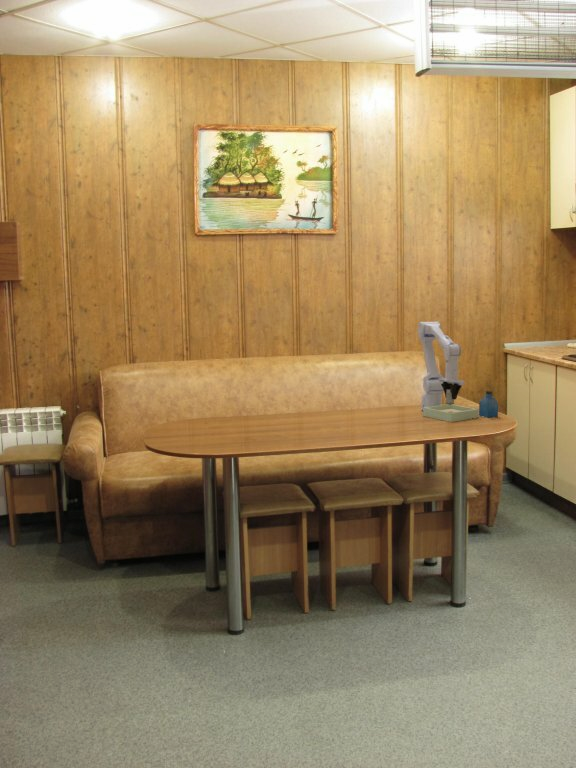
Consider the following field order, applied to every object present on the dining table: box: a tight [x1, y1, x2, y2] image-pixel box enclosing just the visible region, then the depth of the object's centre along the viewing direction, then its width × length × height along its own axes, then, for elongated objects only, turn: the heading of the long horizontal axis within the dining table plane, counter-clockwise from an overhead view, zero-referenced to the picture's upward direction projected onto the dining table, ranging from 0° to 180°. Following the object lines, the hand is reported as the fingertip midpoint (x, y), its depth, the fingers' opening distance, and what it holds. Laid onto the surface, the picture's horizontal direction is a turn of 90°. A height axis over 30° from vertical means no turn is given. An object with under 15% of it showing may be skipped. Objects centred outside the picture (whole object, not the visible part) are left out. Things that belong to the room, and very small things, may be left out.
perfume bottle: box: [478, 390, 499, 419], centre depth 380 cm, size 6×6×12 cm
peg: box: [445, 389, 455, 405], centre depth 377 cm, size 4×4×7 cm
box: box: [422, 404, 479, 423], centre depth 379 cm, size 18×18×4 cm
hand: (451, 398), depth 378 cm, fingers closed on peg, 4 cm apart
